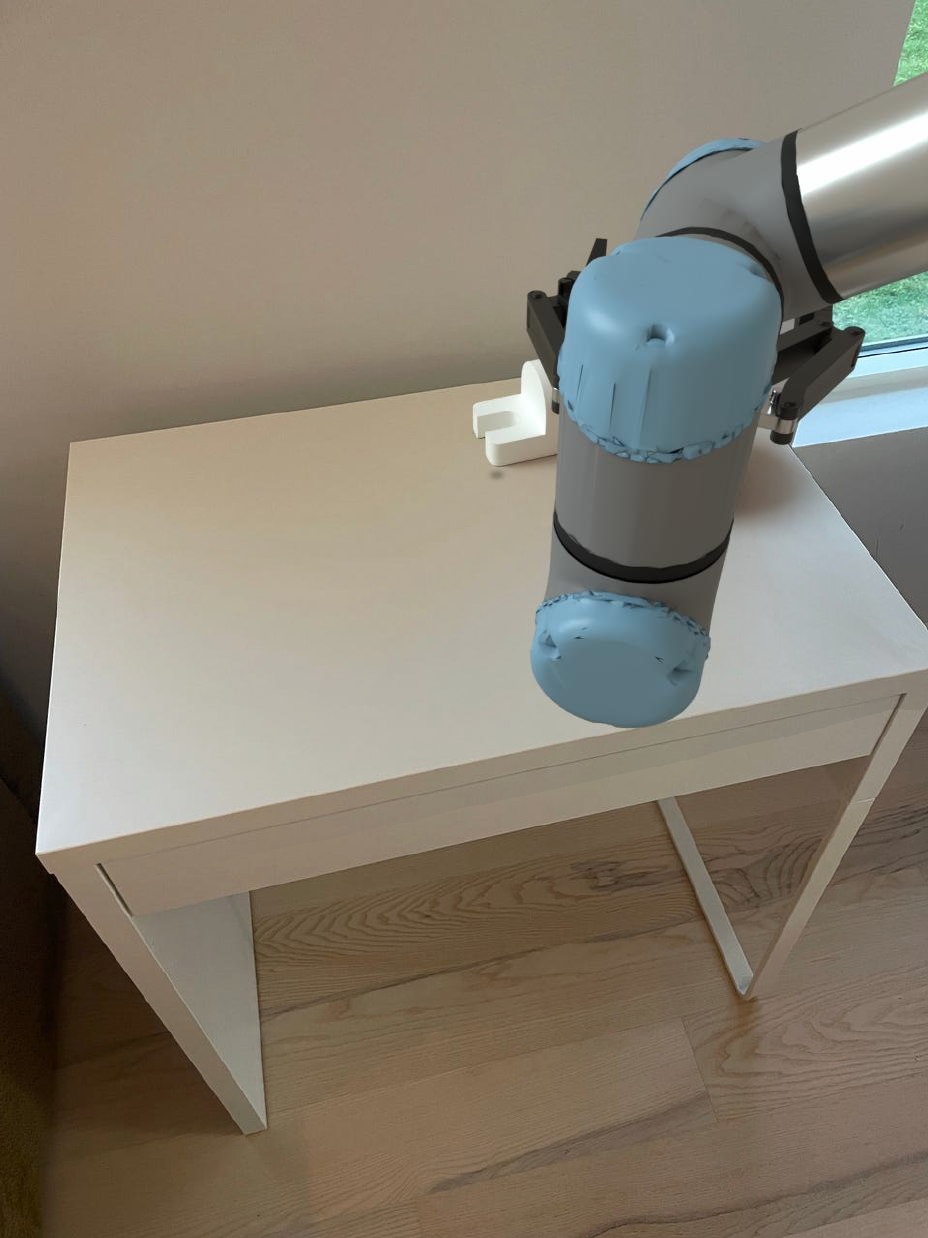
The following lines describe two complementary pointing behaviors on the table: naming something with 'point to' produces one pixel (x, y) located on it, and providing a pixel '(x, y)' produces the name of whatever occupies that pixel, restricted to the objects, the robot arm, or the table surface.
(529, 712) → the table surface
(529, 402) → the slotted bracket
